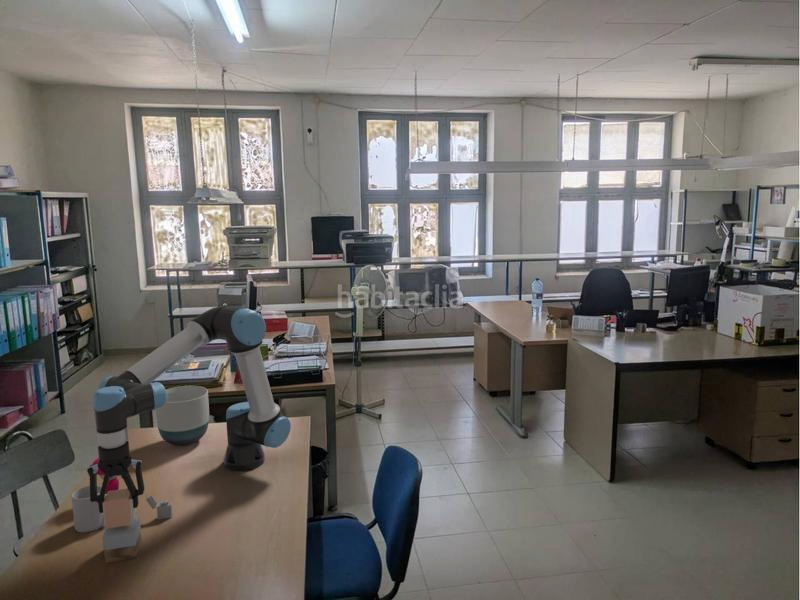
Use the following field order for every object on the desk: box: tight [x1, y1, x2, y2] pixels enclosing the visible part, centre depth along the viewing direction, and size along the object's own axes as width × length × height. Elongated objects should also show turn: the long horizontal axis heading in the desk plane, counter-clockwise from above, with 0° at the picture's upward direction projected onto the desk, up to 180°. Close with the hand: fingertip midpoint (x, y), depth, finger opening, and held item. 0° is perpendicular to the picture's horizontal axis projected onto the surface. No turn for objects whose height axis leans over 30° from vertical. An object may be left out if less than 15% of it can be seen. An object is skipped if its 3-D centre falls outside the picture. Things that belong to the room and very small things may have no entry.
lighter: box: [145, 494, 173, 520], centre depth 171 cm, size 7×2×8 cm, turn 106°
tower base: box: [103, 531, 142, 564], centre depth 155 cm, size 8×8×4 cm
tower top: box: [102, 516, 141, 551], centre depth 154 cm, size 8×8×4 cm
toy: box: [91, 457, 120, 494], centre depth 183 cm, size 8×8×15 cm
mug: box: [71, 485, 107, 534], centre depth 168 cm, size 12×8×11 cm
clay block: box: [104, 488, 131, 530], centre depth 153 cm, size 6×6×8 cm
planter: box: [155, 385, 210, 447], centre depth 225 cm, size 20×20×21 cm
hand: (120, 519), depth 154 cm, fingers closed on clay block, 6 cm apart
